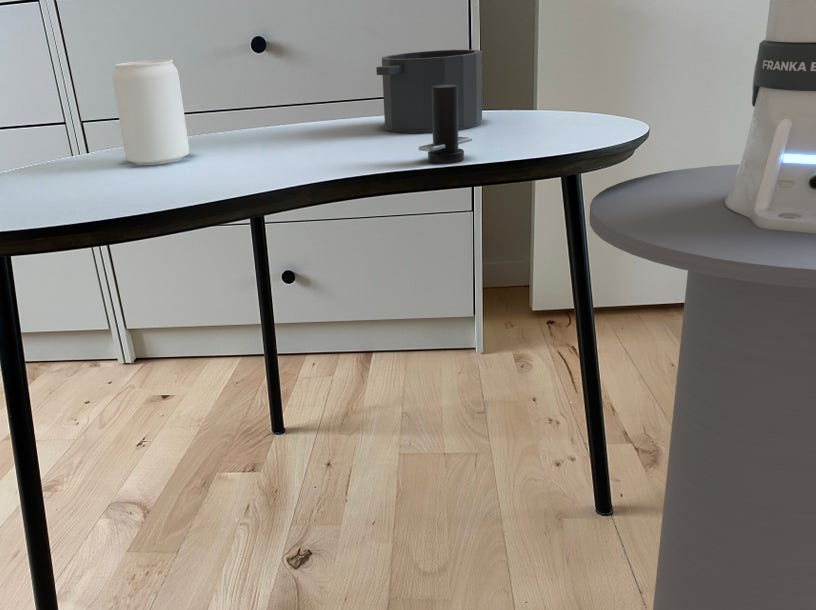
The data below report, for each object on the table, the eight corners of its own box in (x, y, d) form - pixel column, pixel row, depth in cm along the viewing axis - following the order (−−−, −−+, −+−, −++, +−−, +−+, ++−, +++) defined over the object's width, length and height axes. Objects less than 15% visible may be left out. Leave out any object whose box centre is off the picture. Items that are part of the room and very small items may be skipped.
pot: (512, 117, 119) (513, 47, 115) (422, 139, 108) (420, 61, 104) (441, 113, 128) (439, 48, 125) (351, 132, 117) (347, 61, 113)
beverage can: (132, 169, 103) (115, 67, 98) (122, 160, 109) (105, 64, 105) (196, 160, 105) (182, 60, 100) (182, 151, 112) (169, 57, 107)
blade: (452, 153, 97) (451, 81, 94) (479, 156, 94) (479, 82, 91) (411, 164, 93) (409, 89, 90) (438, 167, 90) (436, 90, 87)
